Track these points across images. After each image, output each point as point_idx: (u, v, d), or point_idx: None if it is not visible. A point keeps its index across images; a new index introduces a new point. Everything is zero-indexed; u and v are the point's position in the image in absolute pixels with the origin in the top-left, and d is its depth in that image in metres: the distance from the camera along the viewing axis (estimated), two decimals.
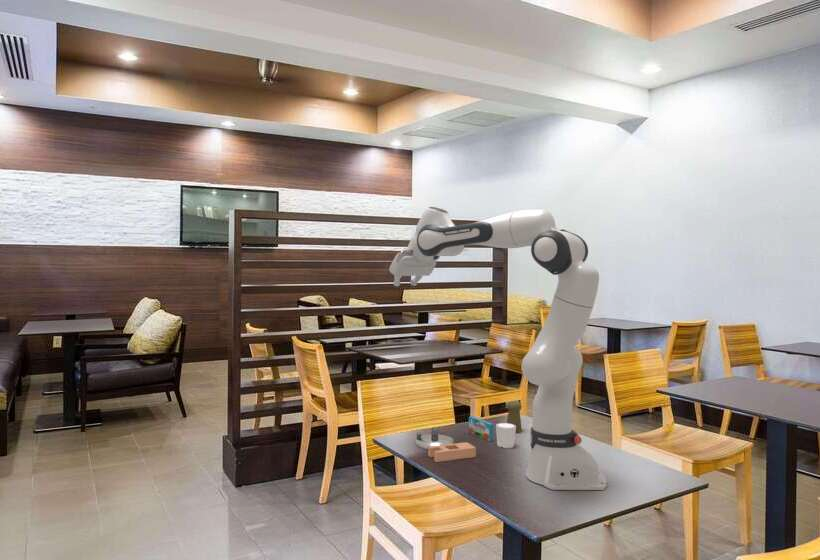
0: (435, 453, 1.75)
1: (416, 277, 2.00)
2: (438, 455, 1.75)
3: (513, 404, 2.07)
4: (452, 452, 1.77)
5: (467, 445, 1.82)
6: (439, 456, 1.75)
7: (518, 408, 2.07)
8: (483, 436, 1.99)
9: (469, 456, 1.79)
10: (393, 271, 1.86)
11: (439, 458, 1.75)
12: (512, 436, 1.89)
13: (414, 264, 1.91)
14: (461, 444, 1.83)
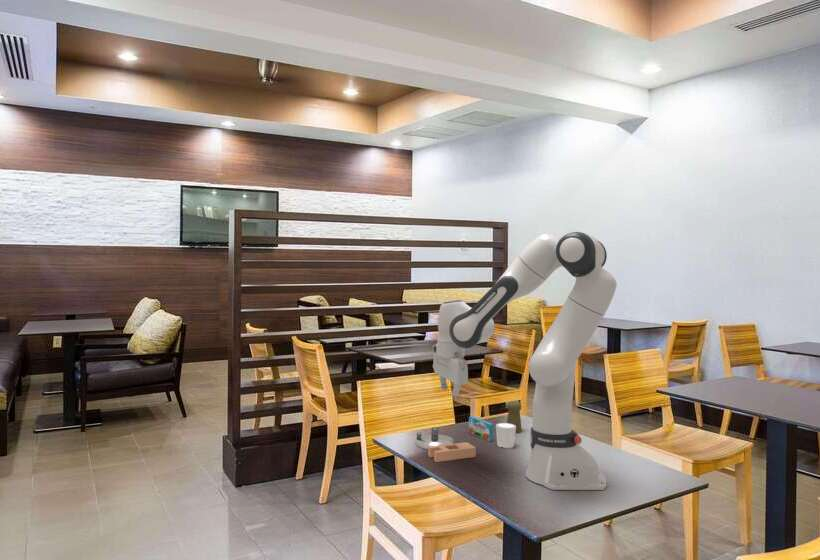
0: (435, 453, 1.75)
1: (442, 380, 1.86)
2: (438, 455, 1.75)
3: (513, 404, 2.07)
4: (452, 452, 1.77)
5: (467, 445, 1.82)
6: (439, 456, 1.75)
7: (518, 408, 2.07)
8: (483, 436, 1.99)
9: (469, 456, 1.79)
10: (464, 381, 1.71)
11: (439, 458, 1.75)
12: (512, 436, 1.89)
13: None
14: (461, 444, 1.83)
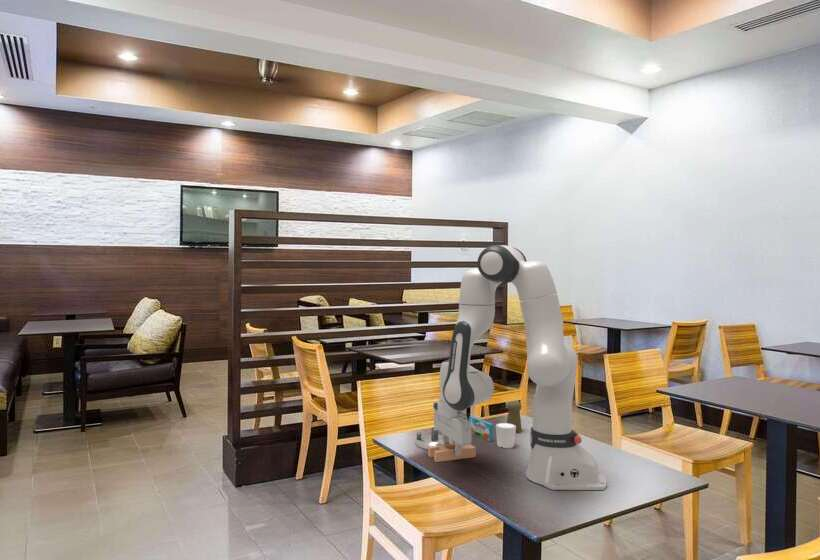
0: (435, 453, 1.75)
1: (445, 438, 1.84)
2: (438, 455, 1.75)
3: (513, 404, 2.07)
4: (452, 452, 1.77)
5: (467, 445, 1.82)
6: (439, 456, 1.75)
7: (518, 408, 2.07)
8: (483, 436, 1.99)
9: (469, 456, 1.79)
10: (468, 442, 1.71)
11: (439, 458, 1.75)
12: (512, 436, 1.89)
13: None
14: None
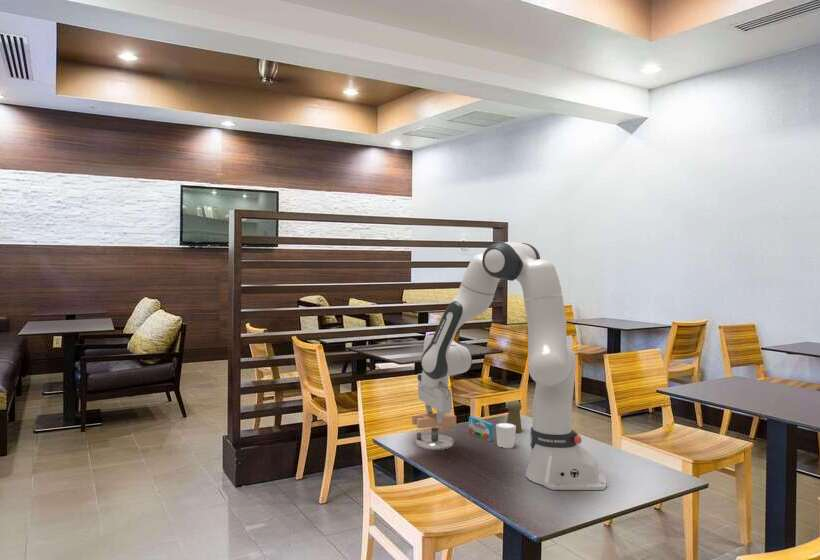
0: (418, 420, 1.87)
1: (428, 407, 1.96)
2: (420, 422, 1.87)
3: (513, 404, 2.07)
4: (434, 420, 1.89)
5: (448, 414, 1.94)
6: (421, 423, 1.87)
7: (518, 408, 2.07)
8: (483, 436, 1.99)
9: (450, 424, 1.91)
10: (449, 409, 1.83)
11: (421, 425, 1.87)
12: (512, 436, 1.89)
13: None
14: None
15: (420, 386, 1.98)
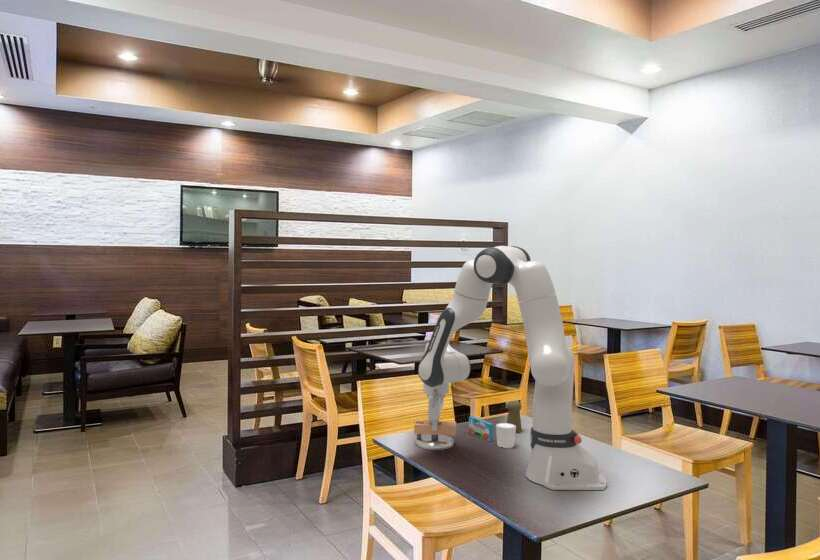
0: None
1: None
2: (416, 427, 1.90)
3: (513, 404, 2.07)
4: (430, 427, 1.89)
5: (451, 424, 1.91)
6: (417, 428, 1.90)
7: (518, 408, 2.07)
8: (483, 436, 1.99)
9: (448, 434, 1.89)
10: (435, 417, 1.82)
11: (417, 430, 1.90)
12: (512, 436, 1.89)
13: None
14: (447, 422, 1.93)
15: None
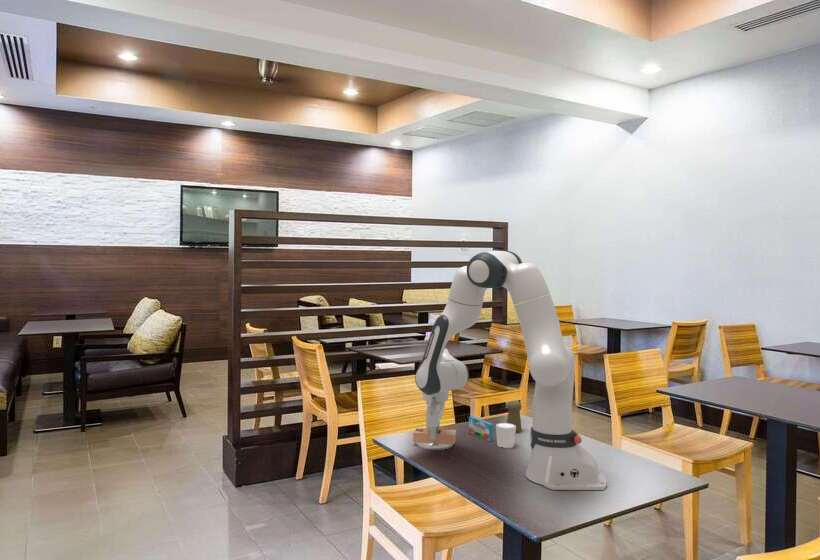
0: (413, 433, 1.91)
1: None
2: (415, 435, 1.90)
3: (513, 404, 2.07)
4: (429, 435, 1.89)
5: (451, 432, 1.91)
6: (416, 436, 1.90)
7: (518, 408, 2.07)
8: (483, 436, 1.99)
9: (447, 442, 1.88)
10: (433, 425, 1.82)
11: (416, 438, 1.90)
12: (512, 436, 1.89)
13: (439, 409, 1.90)
14: (447, 430, 1.93)
15: None
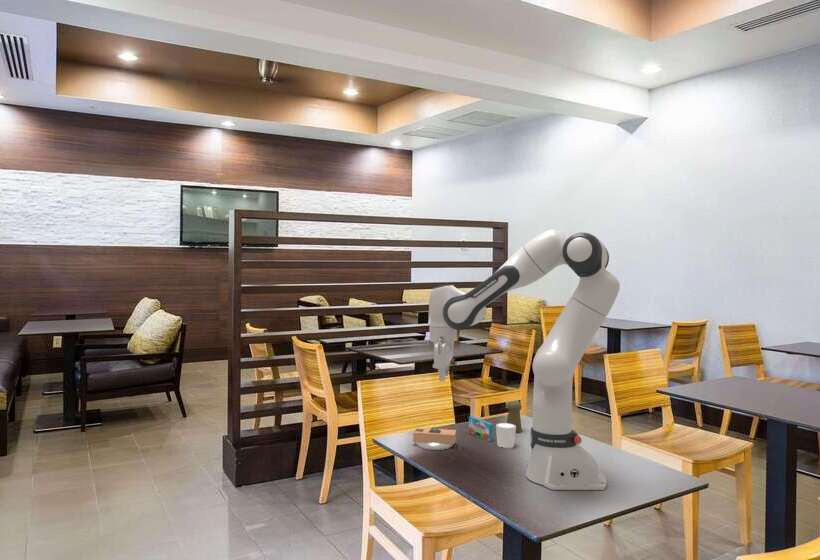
0: (413, 433, 1.91)
1: None
2: (415, 435, 1.90)
3: (513, 404, 2.07)
4: (429, 435, 1.89)
5: (451, 432, 1.91)
6: (416, 436, 1.90)
7: (518, 408, 2.07)
8: (483, 436, 1.99)
9: (447, 442, 1.88)
10: (441, 365, 1.70)
11: (416, 438, 1.90)
12: (512, 436, 1.89)
13: (447, 350, 1.78)
14: (447, 430, 1.93)
15: None
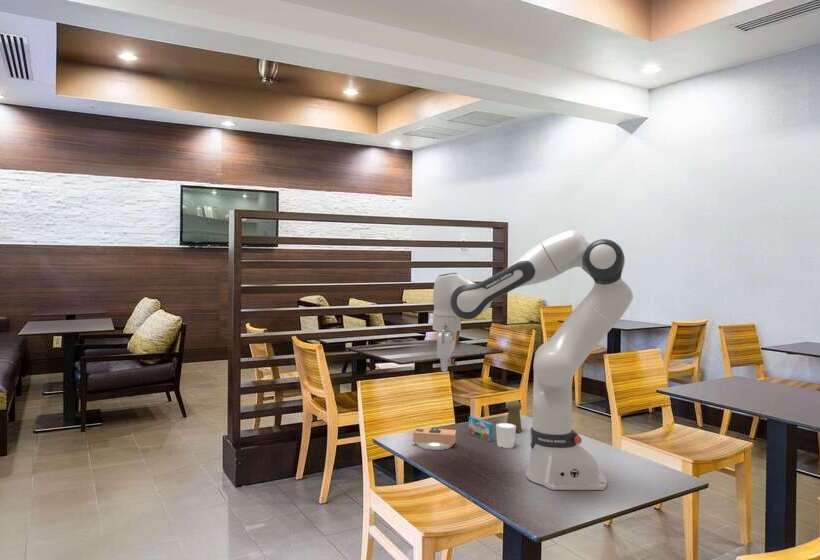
0: (413, 433, 1.91)
1: None
2: (415, 435, 1.90)
3: (513, 404, 2.07)
4: (429, 435, 1.89)
5: (451, 432, 1.91)
6: (416, 436, 1.90)
7: (518, 408, 2.07)
8: (483, 436, 1.99)
9: (447, 442, 1.88)
10: (444, 354, 1.66)
11: (416, 438, 1.90)
12: (512, 436, 1.89)
13: (450, 340, 1.74)
14: (447, 430, 1.93)
15: None
